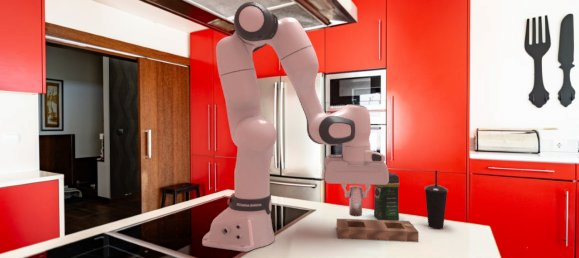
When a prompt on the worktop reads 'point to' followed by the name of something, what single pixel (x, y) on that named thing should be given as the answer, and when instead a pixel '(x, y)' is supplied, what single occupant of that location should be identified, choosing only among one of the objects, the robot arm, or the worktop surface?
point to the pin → (355, 201)
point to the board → (376, 230)
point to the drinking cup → (436, 204)
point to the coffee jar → (387, 199)
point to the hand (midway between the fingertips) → (355, 197)
